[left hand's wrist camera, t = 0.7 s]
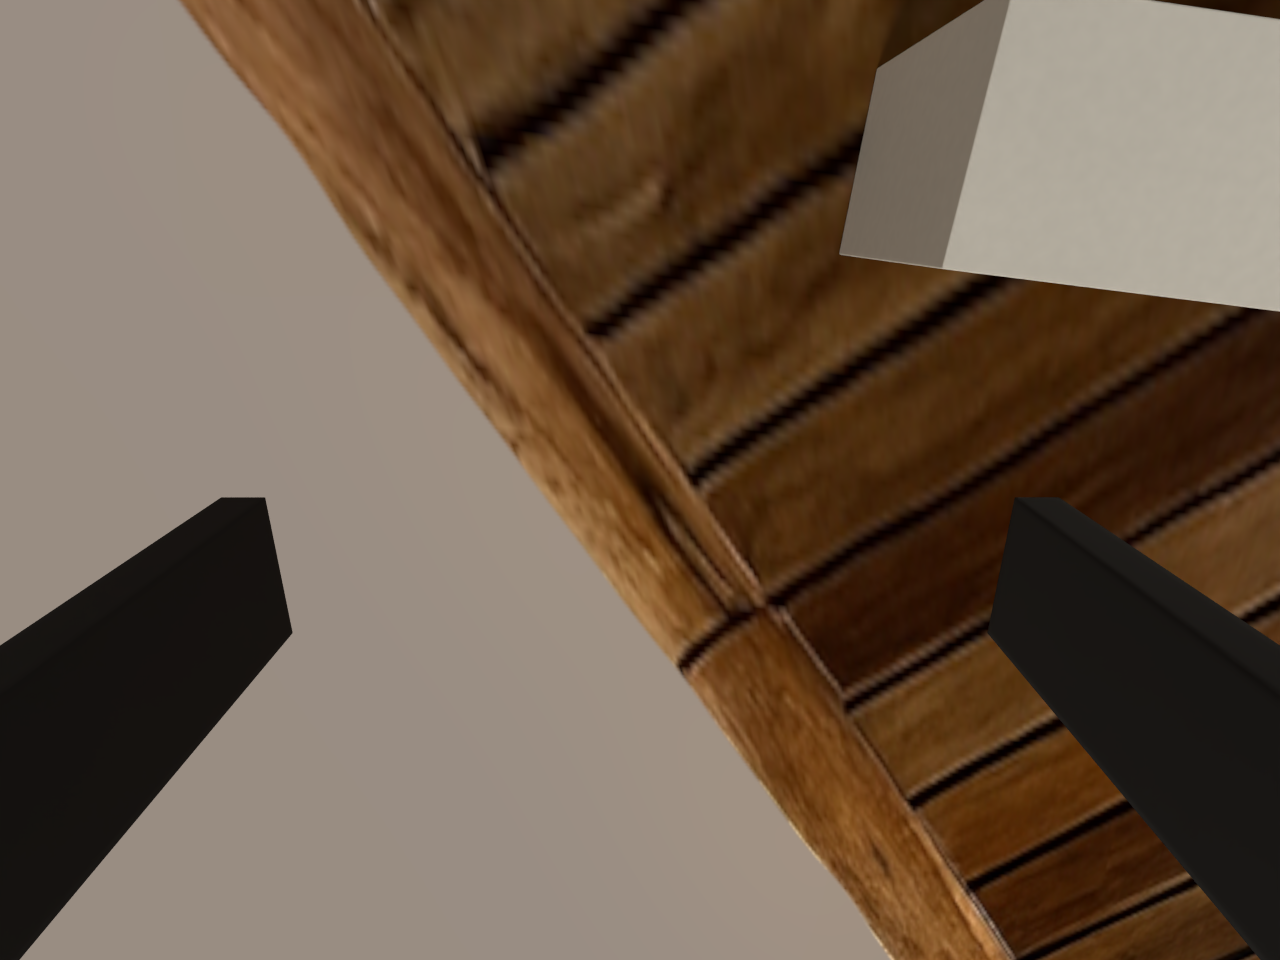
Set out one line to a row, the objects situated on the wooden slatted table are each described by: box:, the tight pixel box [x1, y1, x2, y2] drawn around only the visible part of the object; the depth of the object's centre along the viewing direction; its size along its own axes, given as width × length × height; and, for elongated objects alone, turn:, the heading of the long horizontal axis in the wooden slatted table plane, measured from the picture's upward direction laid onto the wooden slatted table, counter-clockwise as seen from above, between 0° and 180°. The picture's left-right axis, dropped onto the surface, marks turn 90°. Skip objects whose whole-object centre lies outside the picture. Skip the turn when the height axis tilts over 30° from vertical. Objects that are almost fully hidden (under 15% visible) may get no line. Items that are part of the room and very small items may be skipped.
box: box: [839, 0, 1280, 311], centre depth 26 cm, size 24×8×11 cm, turn 83°
